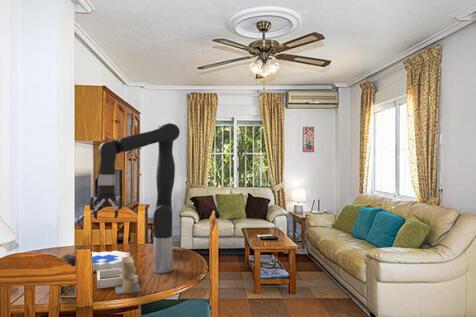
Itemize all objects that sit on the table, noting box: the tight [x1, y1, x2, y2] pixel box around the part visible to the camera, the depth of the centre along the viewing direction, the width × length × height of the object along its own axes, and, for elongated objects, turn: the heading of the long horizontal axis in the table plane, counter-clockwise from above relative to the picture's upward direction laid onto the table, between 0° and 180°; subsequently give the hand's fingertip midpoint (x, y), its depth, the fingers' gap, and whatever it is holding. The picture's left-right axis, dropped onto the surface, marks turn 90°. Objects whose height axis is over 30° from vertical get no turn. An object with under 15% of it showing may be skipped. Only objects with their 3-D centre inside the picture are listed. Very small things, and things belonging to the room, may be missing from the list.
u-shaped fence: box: [96, 266, 139, 289], centre depth 160 cm, size 17×15×4 cm
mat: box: [114, 282, 142, 295], centre depth 150 cm, size 10×10×1 cm
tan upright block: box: [122, 256, 135, 292], centre depth 150 cm, size 4×10×12 cm, turn 23°
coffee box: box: [59, 253, 76, 297], centre depth 143 cm, size 9×6×16 cm
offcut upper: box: [118, 267, 137, 277], centre depth 162 cm, size 4×7×2 cm, turn 112°
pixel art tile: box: [91, 250, 131, 272], centre depth 187 cm, size 28×4×28 cm
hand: (105, 218), depth 163 cm, fingers open, 8 cm apart
